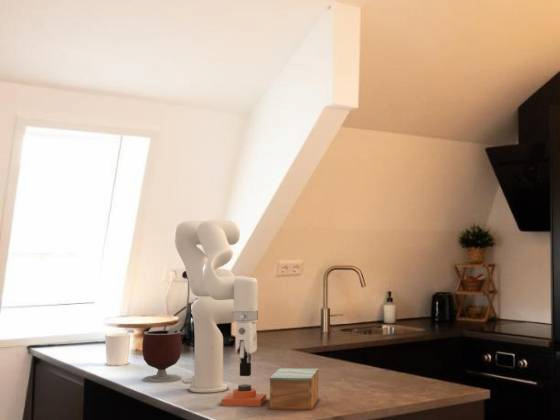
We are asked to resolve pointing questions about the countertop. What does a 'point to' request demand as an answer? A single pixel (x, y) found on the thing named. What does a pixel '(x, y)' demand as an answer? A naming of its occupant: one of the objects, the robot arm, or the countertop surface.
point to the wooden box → (293, 394)
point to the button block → (244, 398)
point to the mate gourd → (162, 352)
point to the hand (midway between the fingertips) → (245, 375)
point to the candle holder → (117, 348)
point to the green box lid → (294, 374)
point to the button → (244, 387)
